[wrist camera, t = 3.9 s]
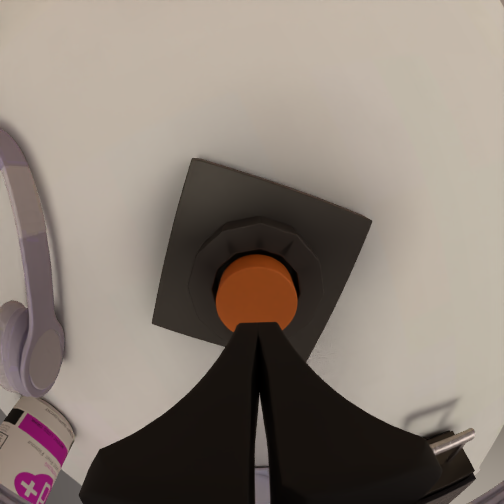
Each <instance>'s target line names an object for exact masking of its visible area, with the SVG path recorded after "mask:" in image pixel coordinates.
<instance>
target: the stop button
mask: <svg viewBox="0 0 504 504" xmlns="http://www.w3.org/2000/svg"><path fill="white" fill-rule="evenodd" d="M297 303H298V300H297V294H296V290H295V287H294V284H293V281H292V278H291V276H290V273H289V272H288V270H287V269H286V267H285V266H284V265H283V264H282V263H281V262H279V261H278V260H276V259H274V258H272V257H270V256H266V255H261V254H252V255H246V256H243V257H240V258H238V259H236V260H235V261H233V262H232V263H231V264H230V265H229V266H228V267H227V268H226V269H225V271H224V272H223V274H222V277H221V279H220V284H219V288H218V292H217V296H216V309H217V313H218V316H219V318H220V319H221V321H222V322H223V324H224V325H225V326H226V327H227V328H228V329H230V330H231V331H232V332H234V331H235V328H236V326H237V325H238V324H239V323H254V322H277V323H278V324H279V326H280V328H281V329H282V330H283V329H284V328H286V327H287V326H288V325H289V323H290V322H291V321H292V319H293V317H294V316H295V313H296V310H297Z"/></svg>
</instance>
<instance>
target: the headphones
mask: <svg viewBox="0 0 504 504" xmlns="http://www.w3.org/2000/svg"><path fill="white" fill-rule="evenodd" d="M0 170H1V171H2V174H3V177H4V180H5V184H6V187H7V191H8V194H9V198H10V202H11V206H12V210H13V214H14V219H15V224H16V228H17V234H18V238H19V244H20V250H21V255H22V262H23V269H24V275H25V284H26V292H27V301H28V308H25V306H24V305H23V304H21V303H20V302H18V301H12V300H11V301H9V302H6V303H5V304H3V305H2V307H1V308H0V385H1V386H2V387H3V388H4V389H6V390H7V391H10V392H19V393H20V394H21V395H23V396H26V397H30V396H32V397H35V398H38V397H42V396H44V395H45V394H46V393H47V392H48V391H49V390H50V389H51V387H52V386H53V384H54V382H55V380H56V378H57V376H58V373H59V371H60V367H61V364H62V359H63V353H64V345H65V339H64V332H63V328H62V326H61V325H60V323H59V322H58V320H57V318H56V316H55V310H54V298H53V283H52V270H51V261H50V254H49V247H48V241H47V233H46V225H45V219H44V214H43V210H42V206H41V202H40V198H39V194H38V191H37V188H36V185H35V182H34V179H33V176H32V173H31V170H30V168H29V166H28V164H27V161H26V159H25V157H24V155H23V153H22V151H21V149H20V148H19V146H18V145H17V143H16V142H15V141H14V139H13V138H12V137H11V136H10V135H9V134H8V133H6V132H5V131H4V130H2V129H0Z"/></svg>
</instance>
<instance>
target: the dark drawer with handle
mask: <svg viewBox="0 0 504 504" xmlns="http://www.w3.org/2000/svg"><path fill="white" fill-rule="evenodd" d="M474 436H475V431H474V429H473V428H469V429H467V430H465V431H463V432H460V433H458V434H456V435H455V434H454V432H453V431H451V432H448V433H446V434H443V435H441V436H438V437H435V438H433V439H430V440H427V442H428V444H429V446H430V447H431V448H432V450H433V452H434V454H435V456H436V458H437V460H438V462H439V464H440V466H441V468H442V474H441V476H440V478H439V480H438V481H437V483H436V484H435V485H434V486H433V487H432V488H431V489H430V490H429V491H428V492H427V493H426V494H425V495H424V496H423V497H422V498H421V499H424V498H426V497H429V496H431V495H433V494H436V493H438V492H440V491H442V490H444V489H447V488H449V487H451V486H453V485H455V484H457V483H459V482H460V481H461V480H463V479H465V478H467V477H468V476H470V475H471V474H472V473H473V472H474V471H475V470H474V468H473V466H472V464H471V463H470V461H469V459H468V457H467V455H466V453H465V452H464V450H463V448H462V447H463V446H464V445H465V443H466V442H468V441H470V440H472V439H473V438H474ZM421 499H420V500H421Z"/></svg>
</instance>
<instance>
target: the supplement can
mask: <svg viewBox="0 0 504 504" xmlns="http://www.w3.org/2000/svg"><path fill="white" fill-rule="evenodd" d="M74 439H75V435H74V433H73V430H72V428H71V425H70V424H69V422H68V421H67V420H66V419H65V417H64V416H63V415H62V414H61V413H60V412H59V411H58V410H56V409H55V408H54V407H52V406H51V405H50V404H49V403H47V402H45V401H44V400H42V399H40V398H35V397H32V396H30V397H26V396H22V397H21V398H20V399H19V401H18V402H17V403H16V405H15V406H14V407H13V409H12V410H11V411H10V413H9V414H8V416H7V417H6V418H5V420H4V421H3V423H2V424H1V426H0V483H1V484H2V485H3V486H5V487H6V488H8V489H9V490H11V491H13V492H14V493H16V494H17V495H19V496H21V497H22V498H24V499H26V500H27V501H29V502H31V503H32V504H45V502H46V500H47V497H48V495H49V493H50V491H51V488H52V486H53V484H54V482H55V480H56V477H57V475H58V473H59V471H60V469H61V467H62V465H63V463H64V461H65V458H66V456H67V454H68V452H69V450H70V448H71V446H72V444H73V442H74Z"/></svg>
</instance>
